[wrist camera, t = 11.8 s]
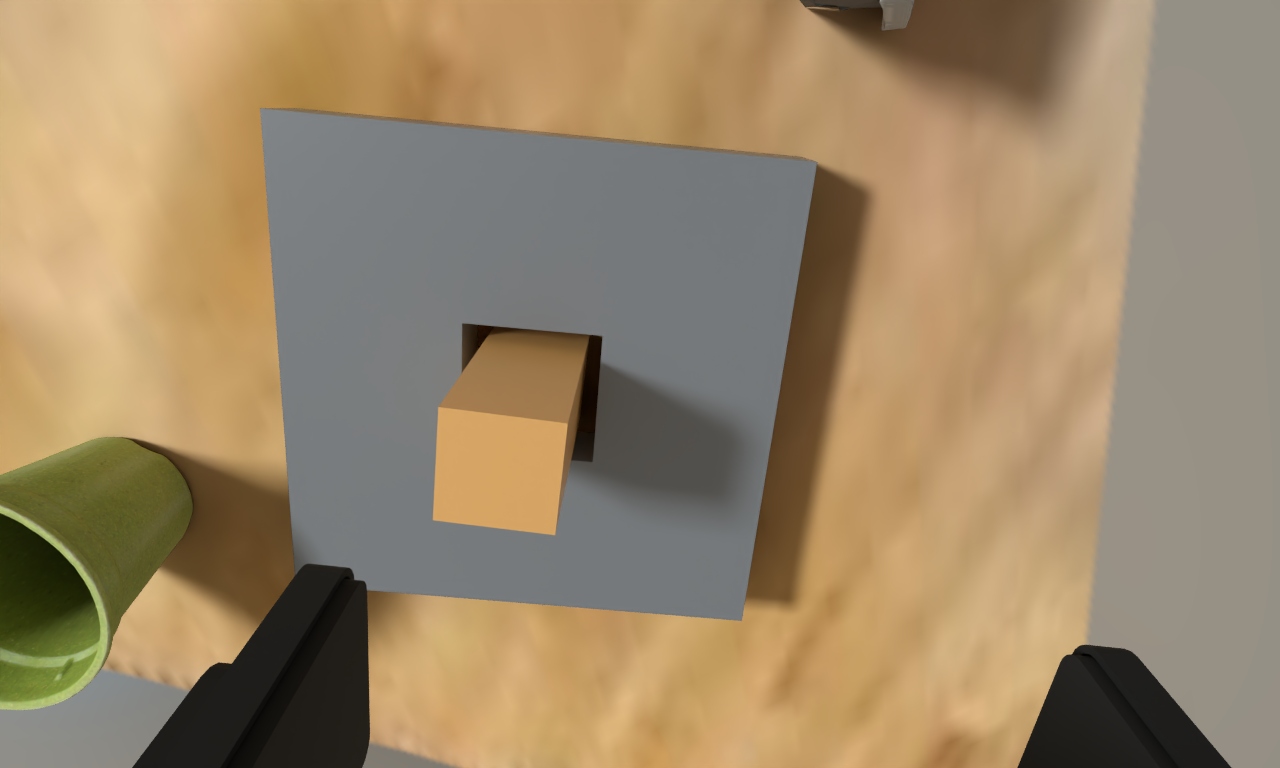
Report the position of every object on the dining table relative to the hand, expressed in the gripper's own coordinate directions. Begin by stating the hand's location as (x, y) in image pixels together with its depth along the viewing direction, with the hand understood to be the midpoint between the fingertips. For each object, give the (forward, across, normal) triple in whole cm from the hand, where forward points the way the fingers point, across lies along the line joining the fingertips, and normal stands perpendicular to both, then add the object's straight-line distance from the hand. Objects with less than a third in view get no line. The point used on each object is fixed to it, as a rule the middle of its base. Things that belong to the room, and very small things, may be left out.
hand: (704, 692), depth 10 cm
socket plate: (+23, +5, +5) cm, 24 cm away
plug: (+23, +5, +5) cm, 24 cm away
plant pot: (+23, +24, +13) cm, 36 cm away
